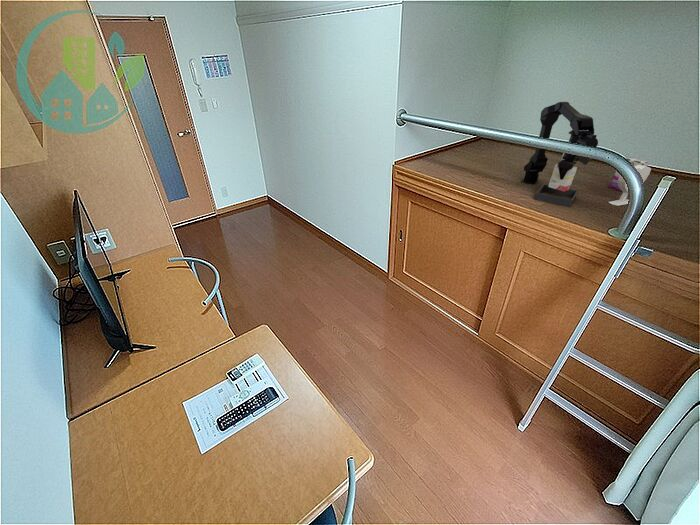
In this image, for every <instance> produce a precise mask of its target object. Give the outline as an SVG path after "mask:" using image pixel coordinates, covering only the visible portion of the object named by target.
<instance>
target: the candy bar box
mask: <svg viewBox="0 0 700 525" xmlns="http://www.w3.org/2000/svg"><path fill="white" fill-rule="evenodd" d="M624 158H626V159H627V160H628V161H629V162H630V163H631V164H632V165H633V166H634V167H635V166H637V165H643V166H647V167H649V165H650V161H647V160H643V159H639V158H635V157H630V156H624ZM619 176H620V174H619V173H618V172H617V171H616V170H615V172H614V175H613V176H612V179H611V181H610V184H609V186H608V188H611V189H614V190H617V191H620V192H623V191H622V190H621V189H620V188H619V186H618V179H619Z"/></svg>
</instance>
